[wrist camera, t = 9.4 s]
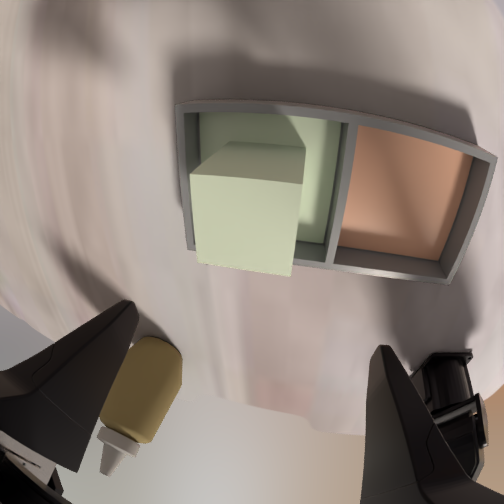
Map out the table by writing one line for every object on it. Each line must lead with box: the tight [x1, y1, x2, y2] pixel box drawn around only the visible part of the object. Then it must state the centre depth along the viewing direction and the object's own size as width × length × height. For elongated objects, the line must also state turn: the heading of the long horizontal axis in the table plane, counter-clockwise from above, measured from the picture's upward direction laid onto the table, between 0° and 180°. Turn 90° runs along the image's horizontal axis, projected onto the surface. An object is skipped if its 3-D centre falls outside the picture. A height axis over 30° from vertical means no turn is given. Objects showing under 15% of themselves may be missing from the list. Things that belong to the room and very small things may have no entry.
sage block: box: [190, 141, 306, 277], centre depth 14 cm, size 4×4×6 cm
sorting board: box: [175, 99, 498, 285], centre depth 15 cm, size 18×10×2 cm, turn 89°
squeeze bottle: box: [97, 337, 183, 477], centre depth 25 cm, size 8×8×18 cm
